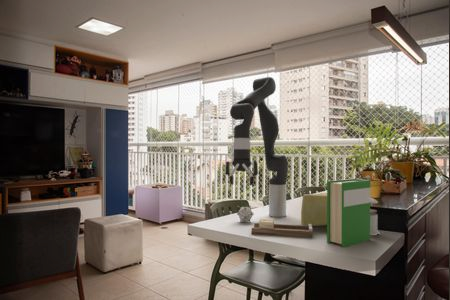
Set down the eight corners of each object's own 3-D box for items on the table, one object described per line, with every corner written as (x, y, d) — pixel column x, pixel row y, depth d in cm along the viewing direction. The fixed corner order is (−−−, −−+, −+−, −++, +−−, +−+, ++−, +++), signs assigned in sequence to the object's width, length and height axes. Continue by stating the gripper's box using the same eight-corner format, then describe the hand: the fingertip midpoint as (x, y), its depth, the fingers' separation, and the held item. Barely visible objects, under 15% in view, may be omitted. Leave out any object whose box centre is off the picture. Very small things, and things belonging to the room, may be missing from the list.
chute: (254, 228, 145) (254, 220, 145) (311, 231, 140) (311, 223, 140) (251, 234, 135) (251, 225, 135) (312, 237, 130) (312, 229, 130)
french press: (366, 235, 133) (366, 176, 133) (348, 229, 144) (348, 174, 144) (385, 234, 135) (385, 176, 135) (366, 227, 146) (366, 174, 146)
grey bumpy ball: (247, 228, 159) (258, 211, 162) (247, 226, 152) (258, 208, 154) (232, 218, 162) (243, 202, 164) (231, 216, 154) (242, 199, 156)
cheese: (308, 228, 145) (308, 196, 145) (296, 224, 154) (296, 193, 154) (346, 225, 152) (346, 193, 152) (333, 220, 161) (333, 191, 161)
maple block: (260, 227, 142) (260, 218, 142) (273, 228, 141) (273, 219, 141) (259, 230, 137) (259, 221, 137) (273, 231, 135) (273, 222, 135)
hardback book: (343, 247, 117) (343, 182, 117) (326, 242, 123) (327, 181, 123) (370, 239, 127) (370, 180, 127) (353, 235, 133) (353, 178, 133)
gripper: (258, 148, 143) (258, 184, 142) (228, 148, 146) (228, 183, 146) (256, 148, 135) (256, 186, 135) (224, 148, 139) (223, 185, 139)
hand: (241, 184), depth 141 cm, fingers open, 8 cm apart
